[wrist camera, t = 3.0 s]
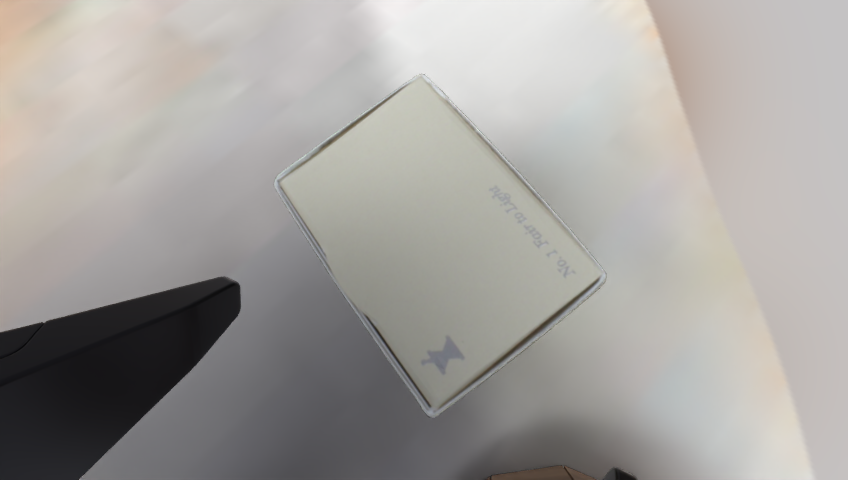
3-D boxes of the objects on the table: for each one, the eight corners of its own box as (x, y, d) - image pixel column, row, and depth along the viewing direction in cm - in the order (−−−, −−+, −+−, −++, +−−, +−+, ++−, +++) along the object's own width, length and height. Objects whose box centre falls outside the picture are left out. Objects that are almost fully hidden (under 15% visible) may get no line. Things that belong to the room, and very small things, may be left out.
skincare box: (547, 329, 20) (632, 284, 8) (467, 390, 19) (433, 436, 8) (461, 222, 21) (427, 59, 10) (387, 277, 21) (263, 177, 10)
